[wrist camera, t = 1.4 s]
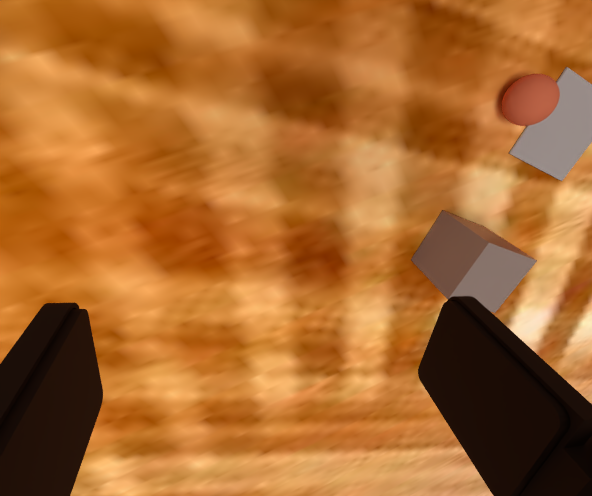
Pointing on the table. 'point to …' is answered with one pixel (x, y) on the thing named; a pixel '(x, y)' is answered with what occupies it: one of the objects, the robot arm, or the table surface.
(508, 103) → the ball
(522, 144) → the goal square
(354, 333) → the table surface
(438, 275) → the grey block
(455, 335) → the robot arm
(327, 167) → the table surface
